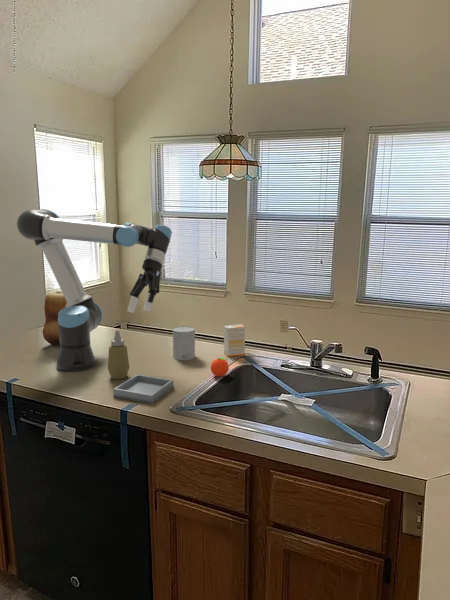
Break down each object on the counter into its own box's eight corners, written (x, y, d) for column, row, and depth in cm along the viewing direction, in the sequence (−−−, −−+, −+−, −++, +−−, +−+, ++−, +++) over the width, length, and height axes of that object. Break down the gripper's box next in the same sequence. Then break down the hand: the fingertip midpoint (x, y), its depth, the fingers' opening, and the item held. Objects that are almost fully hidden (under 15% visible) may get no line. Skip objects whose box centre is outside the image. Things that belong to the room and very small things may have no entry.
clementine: (220, 370, 181) (220, 353, 180) (234, 375, 177) (234, 357, 176) (206, 376, 175) (206, 358, 174) (220, 380, 171) (220, 362, 170)
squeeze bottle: (110, 382, 169) (108, 334, 165) (105, 374, 176) (103, 329, 172) (132, 378, 172) (131, 332, 169) (126, 371, 179) (125, 327, 176)
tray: (113, 396, 156) (113, 388, 155) (137, 381, 170) (137, 374, 169) (152, 403, 150) (152, 395, 150) (173, 387, 164) (173, 380, 164)
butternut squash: (68, 349, 207) (65, 294, 202) (38, 348, 207) (35, 294, 202) (78, 340, 220) (76, 289, 215) (50, 339, 220) (48, 288, 215)
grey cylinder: (168, 358, 196) (168, 330, 193) (179, 352, 204) (179, 325, 202) (189, 361, 192) (188, 333, 190) (198, 354, 201) (198, 327, 198)
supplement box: (241, 352, 205) (241, 323, 202) (244, 355, 200) (245, 326, 198) (223, 353, 202) (223, 325, 200) (227, 357, 198) (227, 327, 195)
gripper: (177, 261, 178) (162, 313, 172) (146, 269, 197) (132, 315, 192) (161, 253, 173) (144, 306, 168) (131, 262, 193) (116, 309, 188)
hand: (138, 311), depth 180 cm, fingers open, 13 cm apart
